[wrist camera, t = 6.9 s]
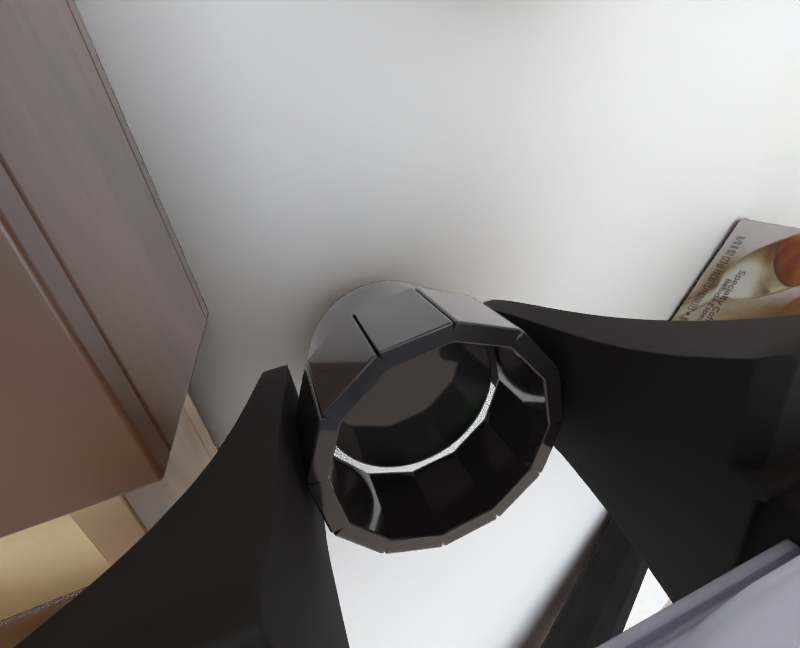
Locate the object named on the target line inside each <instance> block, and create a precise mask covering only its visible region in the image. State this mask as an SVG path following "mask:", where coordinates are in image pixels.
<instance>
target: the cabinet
mask: <svg viewBox="0 0 800 648" xmlns="http://www.w3.org/2000/svg"><path fill="white" fill-rule="evenodd" d="M207 316H208V311H207V308H206V306H205V304H204V301H203V299H202V297H201V294H200V292H199V290H198V287H197V285H196V283H195V280H194V278H193V276H192V274H191V271H190V269H189V267H188V264H187V262H186V260H185V257H184V255H183V253H182V250H181V248H180V246H179V243H178V241H177V239H176V237H175V234H174V232H173V230H172V227H171V225H170V223H169V220H168V218H167V216H166V213H165V211H164V209H163V207H162V204H161V202H160V200H159V197H158V195H157V193H156V190H155V188H154V186H153V183H152V181H151V179H150V176H149V174H148V172H147V170H146V167H145V165H144V163H143V160H142V158H141V156H140V153H139V151H138V149H137V146H136V144H135V142H134V139H133V137H132V135H131V133H130V130H129V128H128V126H127V123H126V121H125V119H124V116H123V114H122V112H121V109H120V107H119V105H118V102H117V100H116V98H115V96H114V93H113V91H112V89H111V86H110V84H109V82H108V79H107V77H106V75H105V72H104V70H103V68H102V66H101V63H100V61H99V59H98V56H97V54H96V52H95V49H94V47H93V45H92V42H91V40H90V38H89V35H88V33H87V31H86V29H85V26H84V24H83V22H82V19H81V17H80V15H79V12H78V10H77V8H76V5H75V3H74V1H73V0H0V538H2V537H5V536H8V535H11V534H13V533H16V532H19V531H22V530H25V529H27V528H30V527H33V526H36V525H39V524H41V523H44V522H47V521H50V520H53V519H55V518H58V517H61V516H64V515H67V514H69V513H72V512H75V511H78V510H81V509H84V508H86V507H89V506H92V505H95V504H98V503H100V502H103V501H106V500H109V499H112V498H114V497H117V496H120V495H123V494H126V493H128V492H131V491H134V490H137V489H140V488H142V487H145V486H148V485H151V484H154V483H156V482H159V481H161V480H162V479H163V478H164V477H165V473H166V469H167V466H168V462H169V458H170V451H171V450H172V447H173V443H174V439H175V436H176V432H177V428H178V425H179V421H180V417H181V413H182V410H183V406H184V402H185V398H186V395H187V391H188V387H189V384H190V380H191V376H192V372H193V369H194V365H195V361H196V357H197V354H198V350H199V346H200V343H201V339H202V335H203V331H204V328H205V324H206V320H207Z"/></svg>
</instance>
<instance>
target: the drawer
mask: <svg viewBox="0 0 800 648" xmlns="http://www.w3.org/2000/svg"><path fill="white" fill-rule="evenodd" d="M216 453H217V449H216V447H215V445H214V443H213V441H212V439H211V437H210V435H209V433H208V431H207V429H206V427H205V425H204V423H203V421H202V419H201V417H200V415H199V413H198V412H197V410H196V408H195V406H194V404H193V402H192V400H191V398H190V396H189V394H188V392H187V395H186V398H185V402H184V406H183V410H182V413H181V417H180V421H179V425H178V428H177V432H176V436H175V439H174V443H173V447H172V450H171V451H170V458H169V462H168V466H167V469H166V473H165V477H164V478H163V479H162V480H161V481H159V482H156V483H154V484H151V485H148V486H145V487H142V488H140V489H137V490H134V491H131V492H128V493H126V494H123V495H120V496H117V497H114V498H112V499H109V500H106V501H103V502H100V503H98V504H95V505H92V506H89V507H86V508H84V509H81V510H78V511H75V512H72V513H69V514H67V515H64V516H61V517H58V518H55V519H53V520H50V521H47V522H44V523H41V524H39V525H36V526H33V527H30V528H27V529H25V530H22V531H19V532H16V533H13V534H11V535H8V536H5V537H2V538H0V621H2V620H5V619H7V618H10V617H13V616H15V615H18V614H20V613H23V612H25V611H28V610H30V609H33V608H35V607H38V606H40V605H43V604H45V603H48V602H50V601H53V600H55V599H58V598H60V597H63V596H65V595H68V594H71V593H73V592H76V591H78V590H81V589H83V588H86V587H88V586H89V585H90V584H91V583H93V582H94V581H95V580H96V579H97V578H98V577H99V576H101V575H102V574H103V573H104V572H105V571H106V570H107V569H108V568H110V567H111V566H112V565H113V564H114V563H115V562H116V561H117V560H118V559H119V558H121V557H122V556H123V555H124V554H125V553H126V552H127V551H128V550H129V549H130V548H131V547H132V546H133V545H134V544H135V543H137V542H138V541H139V540H140V539H141V538H142V537H143V536H144V535H145V534H146V533H147V532H148V531H149V530H150V529H151V528H152V527H153V526H154V525H155V524H156V523H157V522H158V521H159V520H160V518H161V517H162V516H163V515H164V514H165V513H166V512H167V511H168V510H169V509H170V508H171V507H172V506H173V505H174V503H175V502H176V501H177V500H178V499H179V498H180V497H181V496H182V495H183V494H184V493H185V492H186V491H187V489H188V488H189V487H190V486H191V485H192V484H193V482H194V481H195V480H196V479H197V477H198V476H199V475H200V474H201V472H202V471H203V470H204V469H205V467H206V466H207V465H208V464H209V462H210V461H211V460H212V458H213V457H214V456H215V454H216ZM76 596H77V595H76ZM76 596H73V597H71V598H68V599H66V600H63V601H61V602H58V603H56V604H53V605H51V606H48V607H46V608H43V609H41V610H38V611H36V612H33V613H31V614H28V615H26V616H23V617H21V618H18V619H16V620H13V621H11V622H8V623H6V624H3V625H1V626H0V648H13V647H14V646H16V645H17V644H18V643H20V642H21V641H22V640H23V639H25V638H26V637H27V636H28V635H30V634H31V633H32V632H33V631H35V630H36V629H37V628H38V627H39V626H41V625H42V624H43V623H44V622H45V621H47V620H48V619H49V618H50V617H52V616H53V615H54V614H55V613H56V612H58V611H59V610H60V609H61V608H63V607H64V606H65V605H66V604H67V603H69V602H70V601H71V600H72V599H74V598H75V597H76Z"/></svg>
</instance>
